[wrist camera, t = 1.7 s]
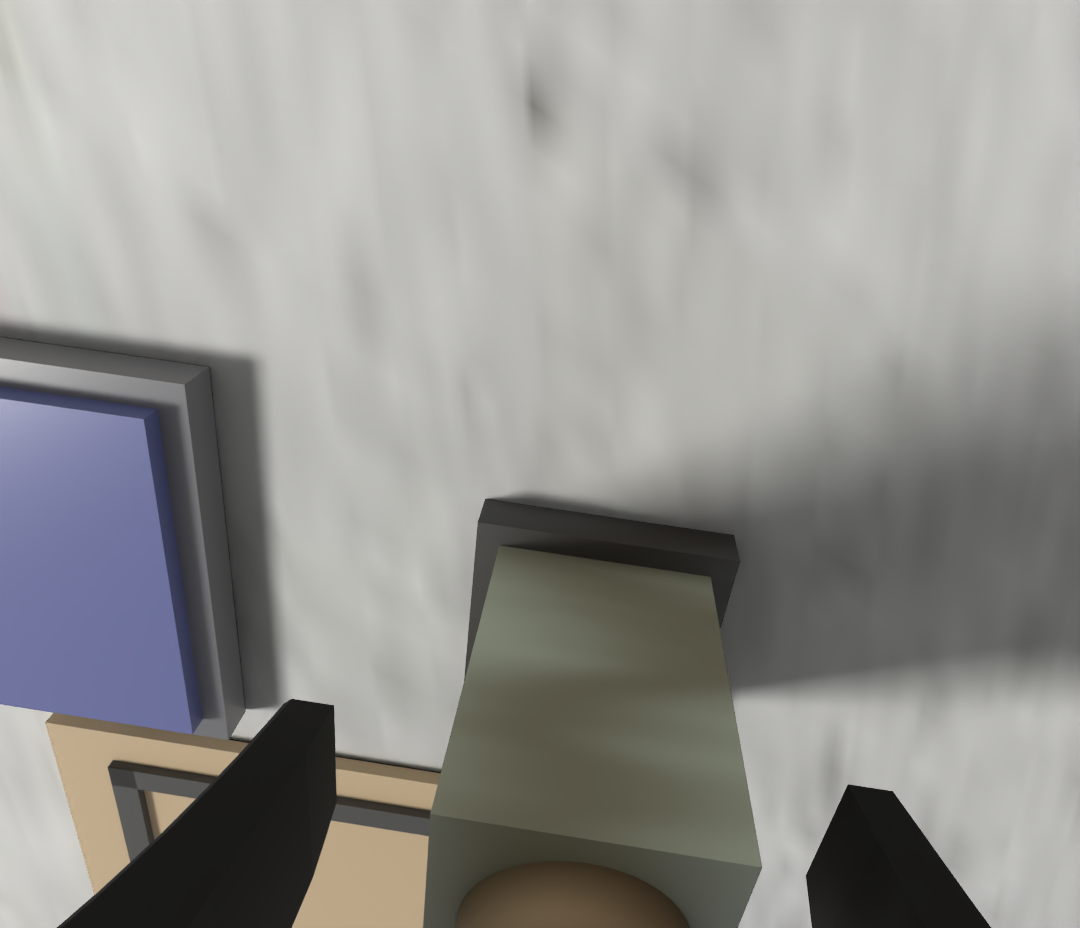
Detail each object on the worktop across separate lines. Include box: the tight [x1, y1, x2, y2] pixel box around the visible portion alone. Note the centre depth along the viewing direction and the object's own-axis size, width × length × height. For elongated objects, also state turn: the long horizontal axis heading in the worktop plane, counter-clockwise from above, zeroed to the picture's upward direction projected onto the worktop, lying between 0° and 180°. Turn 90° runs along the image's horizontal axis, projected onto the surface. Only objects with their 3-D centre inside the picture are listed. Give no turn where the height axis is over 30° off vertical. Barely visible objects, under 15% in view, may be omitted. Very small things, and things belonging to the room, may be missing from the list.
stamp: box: [423, 499, 762, 928], centre depth 11 cm, size 4×4×7 cm
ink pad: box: [0, 337, 245, 740], centre depth 14 cm, size 8×8×1 cm
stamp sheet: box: [45, 713, 441, 928], centre depth 19 cm, size 13×12×1 cm
